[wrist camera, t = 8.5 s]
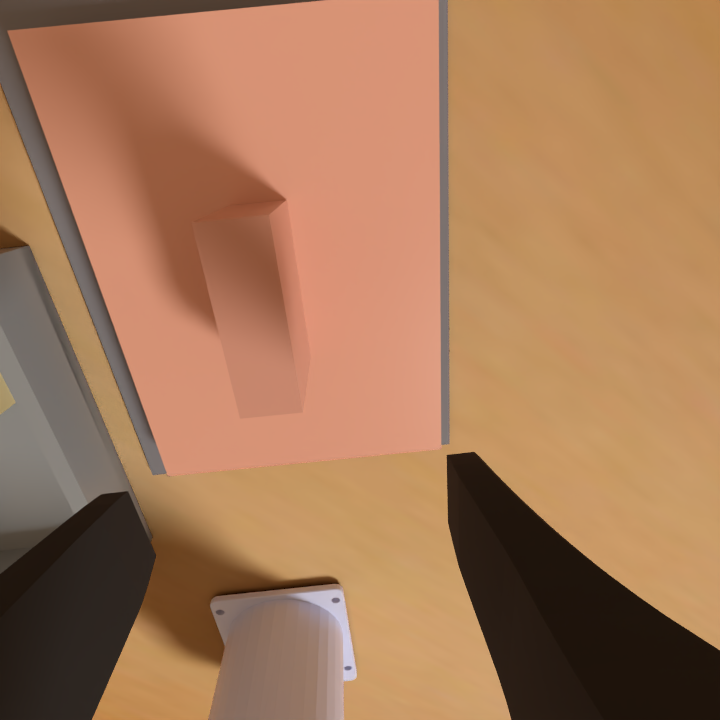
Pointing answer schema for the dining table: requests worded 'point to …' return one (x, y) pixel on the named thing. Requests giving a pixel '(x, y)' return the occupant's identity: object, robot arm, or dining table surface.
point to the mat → (45, 9)
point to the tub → (45, 417)
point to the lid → (260, 220)
